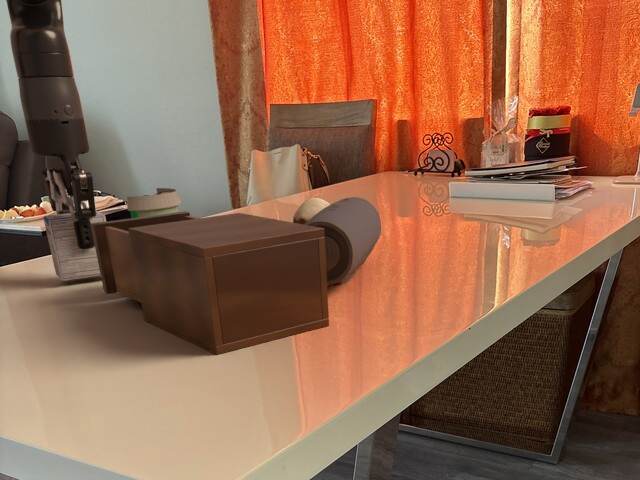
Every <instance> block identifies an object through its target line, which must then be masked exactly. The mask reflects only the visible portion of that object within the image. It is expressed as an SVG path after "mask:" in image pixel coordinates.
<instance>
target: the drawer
mask: <svg viewBox="0 0 640 480" xmlns="http://www.w3.org/2000/svg"><path fill="white" fill-rule="evenodd" d="M199 218H200V217H199V216H198V217H197V216H193V215H191V213H190V211H186V210H185V211H184V210H183V211H178V212H176V213H169V214H161V215H154V216H146V217H138V218H131V217H130V218H123V219H116V220H110V221H106V222H100V223H93V224H90V225H91V230H92V235H93V239H94V244H95V249H96V254H97V259H98V264H99V269H100V274H101V276H100V278H101V284H102V289H103V293H104V294H106V295H111V294H116V293H118V294H120V295H122V296H124V297H126V298H129V299H131V300H133V301H136V302H139V303H141V297H140V292H139V286H138V281H137V275H136V269H135V264H134V258H133V253H132V247H131V242H130V236H129V230H128V228H134V227H141V226H149V225H156V224H163V223H170V222H177V221H184V220H192V219H199Z"/></svg>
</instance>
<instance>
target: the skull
mask: <svg viewBox="0 0 640 480" xmlns="http://www.w3.org/2000/svg"><path fill="white" fill-rule="evenodd" d="M329 205H331V204H330V203H329V202H328V201H326V200H324V199H322V198H321V197H312V198H308V199H307V200H305V201H304V202H302V203H301V204H300V205H299V207H298V208H297V210H296V211H295V212H294V213H293V214H294V215H293V217H292V218H293V219H292V223H298V224H303V225H304V224H305V223H306V222H307V221H308V220H310V219H311V218H312V217H313V216H314V215H316V214H317V213H318V212H320V211H321V210H322V209H324V208H326V207H327V206H329Z"/></svg>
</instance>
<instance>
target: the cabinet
mask: <svg viewBox="0 0 640 480" xmlns="http://www.w3.org/2000/svg"><path fill="white" fill-rule="evenodd" d="M198 218H199V219H192V220H184V221H177V222H170V223H163V224H156V225H149V226H141V227H134V228H128V230H129V236H130V242H131V247H132V253H133V258H134V264H135V269H136V275H137V281H138V286H139V292H140V297H141V302H140V304H141V308H142V314H143V319H144V322H146V323H148V324H151V325H153V326H154V327H157V328H159V329H162V330H163V331H165V332H168V333H170V334H172V335H174V336H176V337H178V338H180V339H183V340H185V341H187V342H189V343H191V344H193V345H196V346H197V347H199V348H202V349H203V350H206V351H209V352H211V353H213V354H215V355H221V354H224V353H228V352H232V351H233V352H234V351H237V350H240V349H243V348H248V347H251V346H256V345H260V344H263V343H267V342H271V341H274V340H279V339H283V338H286V337H290V336H294V335H298V334H301V333H305V332H309V331H314V330H317V329H320V328H325V327H329V326H330V316H329V315H330V313H329V296H328V285H327V275H326V256H325V238H324V228H320V227H314V226H309V225H303V224H298V223H293V221H286V220H281V219H275V218H270V217H264V216H259V215H253V214H248V213H243V212H236V213H227V214H222V215H214V216H207V217H198Z"/></svg>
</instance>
